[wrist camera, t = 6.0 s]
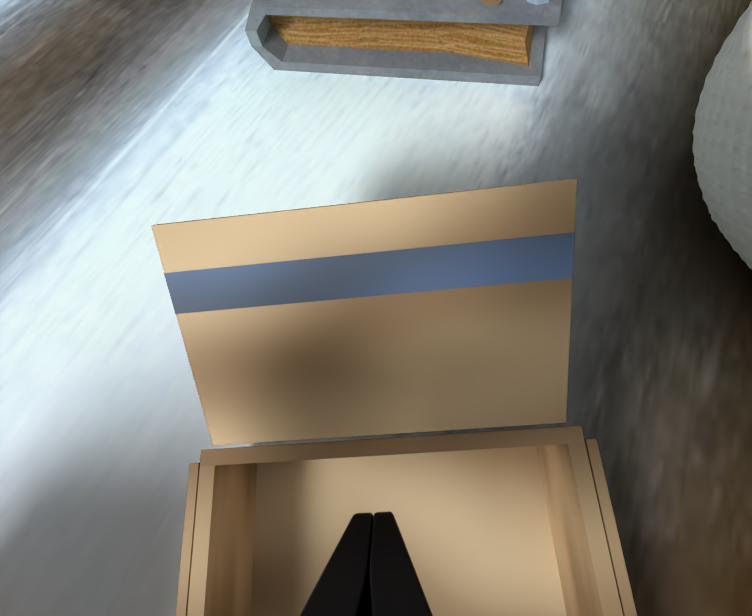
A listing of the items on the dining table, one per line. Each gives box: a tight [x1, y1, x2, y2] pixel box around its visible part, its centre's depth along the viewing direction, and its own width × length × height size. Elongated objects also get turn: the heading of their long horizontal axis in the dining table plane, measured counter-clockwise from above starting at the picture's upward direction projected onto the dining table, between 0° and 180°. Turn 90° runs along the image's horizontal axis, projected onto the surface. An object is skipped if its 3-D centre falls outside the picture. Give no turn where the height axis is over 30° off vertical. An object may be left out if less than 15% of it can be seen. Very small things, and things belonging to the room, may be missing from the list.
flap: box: [151, 179, 577, 445], centre depth 12 cm, size 7×11×1 cm
